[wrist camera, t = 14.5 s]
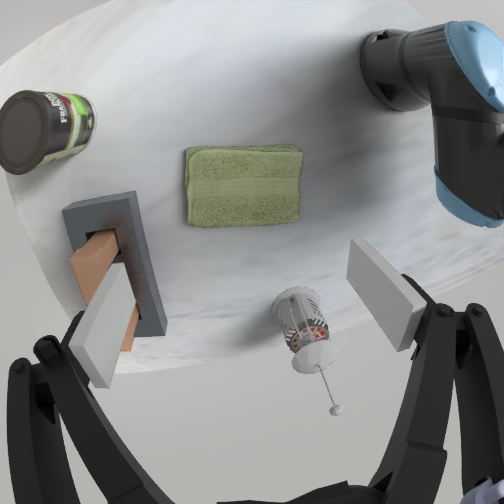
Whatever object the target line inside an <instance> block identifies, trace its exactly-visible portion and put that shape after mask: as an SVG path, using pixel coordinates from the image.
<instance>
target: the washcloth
mask: <svg viewBox="0 0 504 504" xmlns="http://www.w3.org/2000/svg"><path fill="white" fill-rule="evenodd" d="M302 164H303V152H302V151H301V150H298V149H296V148H295V147H294V146H293V145H290V144H288V145H281V144H279V145H269V146H254V147H252V146H250V147H236V146H234V147H229V148H228V147H222V146H221V147H215V146H211V147H208V146H205V147H189V148H187V150H186V170H185V191H186V195H187V198H188V220H187V224H190V225H192V226H194V227H197V226H198V227H202V228H206V227H207V228H209V227H210V228H219V227H222V226H223V227H229V226H237V227H238V226H247V225H248V226H256V225H257V226H258V225H263V226H268V225H271V226H273V225H275V224H277V225H278V224H283V223H285V224H287V223H292V222H296V221H297V220H299V198H300V194H299V191H298V184H299V175H300V173H301V170H302V169H301V168H302Z"/></svg>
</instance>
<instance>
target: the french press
mask: <svg viewBox="0 0 504 504" xmlns="http://www.w3.org/2000/svg"><path fill="white" fill-rule="evenodd" d="M319 305H320V302H319V296H318V295H317V293H316V292H315V291H314V290H312V289H310V288H308V287H294V288H291V289H287V290H286V291H284V292H283V293H281V294H280V295H279V296H278V297H277V298H276V300H275V301H274V302H273V306H272V310H271V311H272V314H273V318H274V319H275V320H276V321H277V322H278V323H280V324H282V326H281V327H282V330H283V334H284V333H285V335H284V337H285V340H286V338H288V339H291V340H290V341H287V340H286V343H287V345H288V346H289V347H290V350H292V351H293V352H294V353H295V355H294V358H293V360H292V366H293V368H294V369H295V370H296V371H297V372H300V373H304V374H313V373H316V372H320V371H321V373H322V376H323V379H324V381H325V384H326V386H327V389H328V392H329V394H330V397H331V400H332V402H333V405H334V407H332V408H331V409H330V414H331V415H334V416H338V415H340V414H341V413H342V412H343V407H342V406H341V405H336V406H335V403H334V400H333V398H332V395H331V393H330V390H329V387H328V385H327V383H326V380H325V377H324V375H323V372H322V371H323V370H325V369H327V368H328V367H329V366H331V365H332V364H333V363H334V362H335V361H336V360H337V358H338V356H339V354H340V347H339V346H338V345H337V343H336V342H333V341H331V340H328V339H329V332H328V325H327V323H326V321H325V319H324V317H323V316H322V313H321V312H320V309H319ZM317 310H318V311H319V312H318V311H317ZM316 312H317V313H318V314H316ZM320 313H321V314H320ZM319 315H321V316H319ZM322 317H323V318H322ZM312 319H314V320H312ZM317 319H318V321H317V323H316V324H315V325H314V323H315V321H316V320H317ZM320 320H322V322H321V324H320V325H318V324H319V322H320ZM324 322H325V325H324V327H322V325H323V323H324ZM285 326H286V327H285ZM292 327H295V329H291V328H292ZM284 329H285V331H284ZM289 330H290V331H296V333H291V332H288V331H289ZM287 334H289V335H293V336H292V337H290V336H286V335H287Z"/></svg>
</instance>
